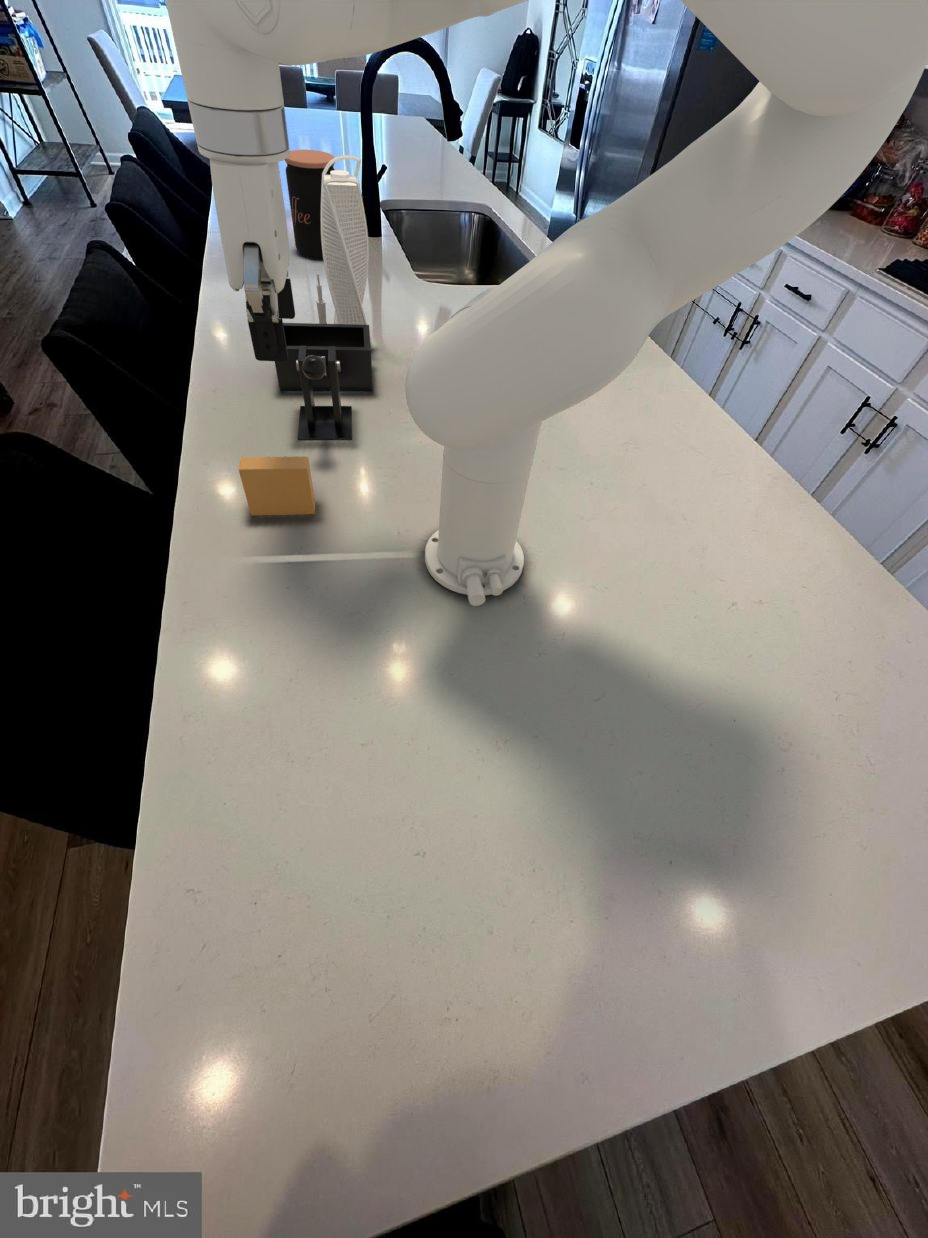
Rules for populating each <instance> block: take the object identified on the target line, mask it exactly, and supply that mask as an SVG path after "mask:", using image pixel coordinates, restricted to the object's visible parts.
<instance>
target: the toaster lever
mask: <svg viewBox="0 0 928 1238" xmlns="http://www.w3.org/2000/svg"><path fill="white" fill-rule="evenodd" d="M302 370H303V373H304V374H305V376H306V377H307V378H309V379H311V380H320V379H321V378H322V377H323V376H324V375H328V370H327V357H326V356H316V355H309V356H307V357H306V358H305V359H304V360H303V363H302Z"/></svg>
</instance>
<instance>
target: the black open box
mask: <svg viewBox="0 0 928 1238" xmlns="http://www.w3.org/2000/svg"><path fill="white" fill-rule="evenodd" d="M283 327H284V333H285V339H286V345H287V352H288V359H287V361H274V367H275V371H276V377H277V382H278V388H279V391H280V392H303V391H302V384H301V377H300V371H297V366H296V360H298V356H299V346H307V352H308V356H309V355H316V356H326V357H327V370H328V375H324V376H323V377H322V378H321V379H320V380H311V381H312V388H313V392H331V385H330V376H329V367H328V347H329V346H335V347H336V356H337V361H340V368H341V371H338V377H339V388H340V392H357V393H358V392H360V393H361V392H364V393H365V392H370V393H371V392H374V390H373V369H372V350H371V346H370V338H371V331H370V325H369V324H367V325H355V324H334V323H327V324H319V323H314V322H313V323H310V322H309V323H308V322H307V323H306V322H283Z"/></svg>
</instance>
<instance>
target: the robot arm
mask: <svg viewBox="0 0 928 1238" xmlns="http://www.w3.org/2000/svg"><path fill="white" fill-rule="evenodd" d="M528 1H529V0H165V5H166V9H167V14H168V18H169V19H168V20H169V22H170V28H171V31H172V32H171V33H172V36H173V40H174V41H173V42H174V46H175V50H176V55H177V60H178V64H179V68H180V72H181V76H182V82H183V86H184V91H185V95H186V100H187V105H188V109H189V115H190V118H191V123H192V128H193V132H194V136H195V141H196V146H197V150H198V153H199V154H200V155H201V156H203V157H204V158H206V159H209V165H210V167H209V168H210V175H211V176H210V177H211V184H212V185H211V186H212V193H213V199H214V206H215V212H216V218H217V223H218V229H219V230H218V231H219V236H220V241H221V245H222V251H223V258H224V262H225V269H226V274H227V279H228V285H229V287H230V288H231V289H232V290H233V291H234V292H239V291H240V290H244V294H245V308H246V318H247V325H248V329H249V334H250V335H249V336H250V339H251V344H252V348H253V353H254V358H255V359H256V360H257V361H259V362H275V361H287V359H288V352H287V345H286V339H285V333H284V327H283V323H284V321H283V320H294V319H295V317H296V308H295V303H294V296H293V287H292V282H291V278H289V266H290V242H289V241H290V240H289V232H288V231H289V230H288V223H287V215H286V214H287V213H286V208H285V199H284V193H283V186H282V185H283V184H282V178H281V170H280V166H279V163H280V162H283V161H285V159H287V158H289V157H290V151H291V150H290V149H291V148H290V140H289V134H288V126H287V118H286V108H285V104H284V94H283V86H282V79H281V70H280V69H281V68H280V65H286V66H305V65H311V64H317V63H324V62H328V61H332V60H339V59H346V58H347V59H348V58H358V57H363V56H367V55H372V54H375V53H378V52H382V51H384V50H387V49H390V48H393V47H396V46H398V45H402V44H404V43H407V42H410V41H413V40H417V39H419V38H421V37H425V36H427V35H431V34H433V33H436V32H439V31H441V30H445V29H447V28H450V27H452V26H455V25H457V24H460V23H462V22H465V21H468V20H471V19H473V18H478V17H483V18H485V17H489V16H492V15H494V14H495V13H497V12H500V11H503V10H506V9H509V8H511V7H514V6H517V5H519V4H522V3H525V2H528ZM679 1H680V2H681V3H682V4H683V5H684V6H685V7H686V8H687V9H688V10H689V11H690V12H691V13H692V14H693V15H694V16H695V17H696V18H697V19H698V20H699V21H700V22H701V23H702V24H703V25H704V26H705V27H706V28H707V29H708V30H709V31H710V32H711V33H712V34H713V35H714V36H715V37H716V38H717V39H718V40H719V41H720V42H721V43H722V44H723V46H725V47H726V49H727V50H728V51H729V52H730V53H731V54H732V55H734V57H735V58H736V59H737V60H738V61H739V62H740V63H741V64H742V65H743V66H744V67H745V68H746V69H747V70H748V71H749V72H750V73H751V74H752V75H753V76H754V78H756V79H757V81H758V83H757V84H756V85H755V87H753V89H752V91H751V92H750V93H749V94H748V95H747V96H746V97H745V98H744V99H743V101H741V102H740V103H739V105H738V106H737V107H736V108H735V109H734V110H733V111H731V112H730V113H729V114H727V115H726V116H725V117H724V118H722V119H721V120H720V121H719V122H718V123H716V124H715V125H714V126H713V127H711V128H710V129H708V130H707V131H706V132H704V133H703V134H702V135H700V136H699V137H698V138H697V139H695V140H694V141H692V142H691V143H690V144H689V145H687V146H686V147H685V148H684V149H683V150H682V151H681V152H679V153H678V154H677V155H675V156H674V157H673V158H672V159H671V160H670V161H668V162H667V163H666V164H664V165H663V166H661V168H659V169H658V170H657V171H654V172H653V173H652V174H651V175H649V176H647V177H646V178H645V179H644V180H643V181H641V182H640V183H639V184H637V185H636V186H634V187H633V188H631V189H630V190H628V191H627V192H626V193H625V194H622V195H621V196H620V197H619V198H617V199H616V200H614V201H613V202H611V203H610V204H608V205H606V206H605V207H603V208H602V209H600V210H598V211H596V212H595V213H593V214H591V215H589V216H587V217H585V218H583V219H582V220H580V221H578V222H576V223H574V225H572V226H570V227H569V228H568V229H566V231H564V232H563V233H562V234H560V235H559V236H558V237H557V238H556V239H554V240H553V241H552V242H551V243H550V244H549V245H548V246H546V247H545V248H544V249H543V250H542V251H540V252H539V253H538V254H537V255H536V256H535V257H533V258H532V259H530V261H528V262H527V263H526V264H524V266H522V267H521V268H519V269H518V270H517V271H516V272H515V273H513V274H511V276H509V277H508V278H506V279H505V280H504V281H503V282H501V283H500V284H498V285H496V286H493V287H491V288H487V289H486V290H484V291H481V292H480V293H479V294H477V295H476V296H475V297H473V298H471V300H469V302H467V303H466V304H464V305H463V307H461V308H460V309H459V310H458V311H456V312H455V313H454V314H453V315H452V316H451V317H450V318H449V319H448V320H447V321H445V323H444V324H442V325H441V326H440V327H439V328H437V329H436V330H434V332H432V333H431V334H430V335H429V336H428V337H426V338H425V339H424V340H423V341H422V342H421V344H420V345H419V346H418V347H417V349H416V350H415V352H414V353H413V355H412V357H411V359H410V361H409V364H408V366H407V371H406V375H405V383H404V385H405V386H404V388H405V391H404V393H405V399H406V404H407V408H408V411H409V415H410V416H411V419H412V420H413V422H414V424H415V425H416V426H417V427H418V429H419V430H420V431H421V432H422V433H423V435H425V436H426V437H427V438H429V439H430V440H431V441H433V442H434V443H437V444H438V445H441V446H443V451H442V452H443V453H442V468H441V471H442V472H441V483H440V501H439V502H440V503H439V518H438V529H437V530H436V531H435V532H433V534H431V536H430V537H429V538H428V540H427V542H426V544H425V549H424V563H425V566H426V570H427V571H428V573H429V575H430V576H431V577H432V578H433V579H434V580H435V581H436V582H437V583H439V584H440V585H441V586H443V587H444V588H446V589H448V590H449V591H451V592H452V591H453V592H455V593H458V594H461V595H466V596H467V599H468V603H469V604H470V605H471V606H473V607H479V606H481V605H483V604H485V602H486V596H490V595H492V596H495V597H496V596H500V595H502V594H503V592H504V591H506V590H507V589H509V588H511V587H512V586H513V585H514V584H515V583H516V582H517V581H518V580H519V578H520V577H521V575H522V572H523V570H524V569H523V568H524V565H525V555H524V550H523V549H522V546H521V544H520V543H519V541H518V540H517V537H518V532H519V528H520V522H521V517H522V513H523V507H524V504H525V498H526V495H527V494H526V493H527V489H528V483H529V479H530V474H531V470H532V467H533V462H534V458H535V453H536V448H537V443H538V439H539V435H540V431H541V427H542V424H543V421H545V420H547V419H550V418H551V417H554V416H555V415H558V414H559V413H562V412H564V411H565V410H567V409H569V408H572V407H574V406H576V405H578V404H580V403H581V402H584V401H585V400H587V399H589V398H591V397H592V396H594V395H595V394H597V393H599V392H600V391H602V390H603V389H604V388H606V387H607V386H608V385H610V384H611V383H612V382H613V381H615V380H616V379H617V378H618V377H619V376H620V375H622V374H623V372H625V370H626V369H627V368H628V367H629V366H630V365H631V364H632V362H633V361H634V360H635V358H636V357H637V355H638V354H639V352H640V351H641V349H642V347H643V346H644V344H645V343H646V341H647V339H648V338H649V336H650V334H651V333H652V331H653V330H654V329H655V328H656V327H657V325H658V324H660V322H662V321H663V320H664V319H665V318H667V317H668V316H670V315H671V314H674V312H676V311H678V310H679V309H681V308H683V307H684V306H685V305H688V304H689V303H691V302H693V301H695V300H696V299H697V298H699V297H702V296H703V295H705V294H707V293H708V292H710V291H712V290H713V289H715V288H717V287H719V286H720V285H721V284H723V283H724V282H726V281H728V280H729V279H731V278H732V277H734V276H736V275H737V274H739V273H741V272H743V271H744V270H746V269H748V268H749V267H752V266H753V265H754V264H756V263H758V262H759V261H761V260H763V259H764V258H766V257H767V256H770V255H771V254H772V253H774V252H775V251H777V250H778V249H780V248H782V247H783V246H785V245H786V244H787V243H789V242H790V241H791V240H793V239H794V238H795V237H797V236H798V235H799V234H801V233H802V232H804V231H805V230H806V229H807V228H808V227H810V225H812V224H813V223H815V222H816V221H817V220H818V219H819V218H820V217H821V216H822V215H824V214H825V212H826V211H828V210H829V209H830V208H831V207H832V206H833V205H834V204H835V203H836V202H837V201H838V200H839V199H840V198H841V197H842V196H843V195H844V194H845V193H846V192H847V190H848V189H849V188H850V187H851V186H852V185H853V183H855V182H856V180H857V179H858V178H859V177H860V176H861V174H862V173H863V172H864V170H865V169H866V168H867V167H868V165H869V164H870V163H871V161H872V160H873V159H874V157H875V156H876V154H877V153H878V152H879V150H880V149H881V148H882V146H883V144H884V143H885V141H886V140H887V138H888V137H889V136H890V134H891V133H892V131H893V129H894V127H895V126H896V125H897V123H898V122H899V120H900V118H901V116H902V114H903V113H904V111H905V109H906V108H907V106H908V105H909V103H910V100H911V98H912V96H913V94H914V93H915V92H916V91H915V90H916V88H917V87H918V84H919V81H920V80H921V78H922V76H923V74H924V72H925V71H924V70H925V69H926V66H927V65H928V0H679ZM433 540H434V541H433ZM435 540H436V541H435Z"/></svg>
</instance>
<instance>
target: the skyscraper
mask: <svg viewBox="0 0 928 1238" xmlns="http://www.w3.org/2000/svg"><path fill="white" fill-rule="evenodd" d="M334 157H335V158H333V159H332V160H330V161H329V162H328V163H327V165H326V166H325V168H324V170H323V173H322V186H321V242H322V252H323V260H322V261H323V266H324V271H325V277H326V280H327V281H326V282H327V286H328V289H329V293H330V297H331V301H332V304H333V308H334V317H333V324H355V325H368V322H367V319H366V315H365V311H364V307H363V303H364V298H365V293H366V288H367V280H368V275H369V261H370V260H369V258H370V255H369V254H370V253H369V251H370V249H369V247H370V246H369V231H368V225H367V217H366V213H365V207H364V202H363V201H364V200H363V195H362V191H361V190H362V189H361V186H360V185H361V183H360V182H359V180H358V176H359V171H360V167H361V162H362V160H361V158H360V157H358V156H356V155H349V154H346V155H345V154H344V155H339V156H334ZM344 160H351V161H352V160H353V161H356V166H355V171H354V174H353V175H350V172H349V171H347V170H344V169H343V170H342V169H335V170H333V171H331V172H330V175H326V173H327V171H328V169H329V167H330V166H331V165H332V164H333V163H334V162H335V163H337V162H339V161H344ZM316 279H317V284H316V291H317V298H318V299H317V300H316V301H315V303H316V309H317V315H318V324H328V322H327V308H326V307H327V306H326V302H325V300H323V288H322V287H323V286H322V284H321V283H320V274H319V273H316ZM370 346H371V351H374V345H373V341H372V338H371V337H370Z"/></svg>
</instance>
